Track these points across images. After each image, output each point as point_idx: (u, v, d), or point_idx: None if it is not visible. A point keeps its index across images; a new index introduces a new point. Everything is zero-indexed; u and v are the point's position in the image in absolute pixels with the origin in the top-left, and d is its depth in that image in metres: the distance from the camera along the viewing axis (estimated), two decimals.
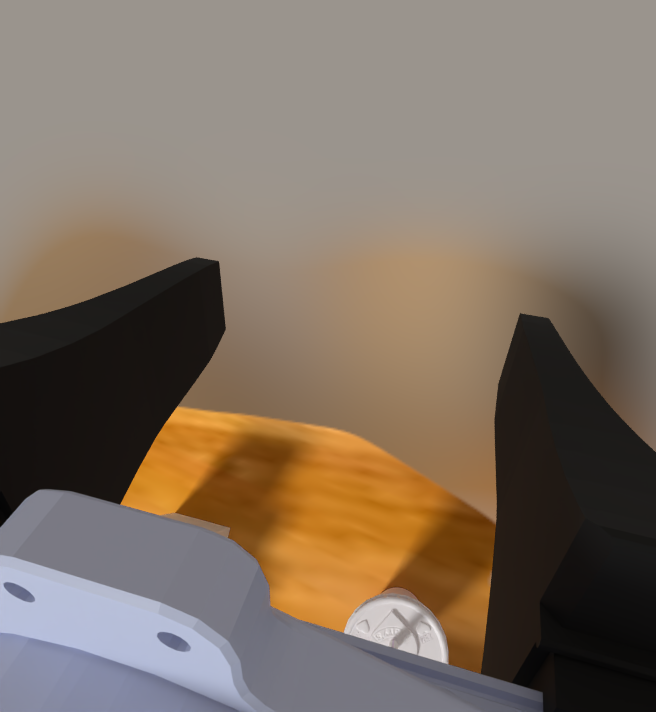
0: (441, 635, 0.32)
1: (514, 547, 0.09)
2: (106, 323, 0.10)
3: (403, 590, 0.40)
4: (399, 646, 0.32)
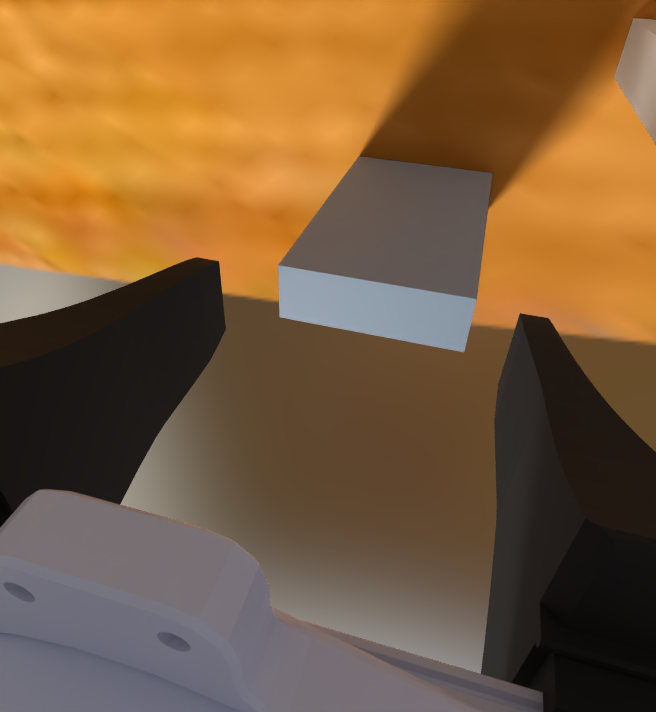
0: None
1: (514, 547, 0.09)
2: (106, 323, 0.10)
3: None
4: None
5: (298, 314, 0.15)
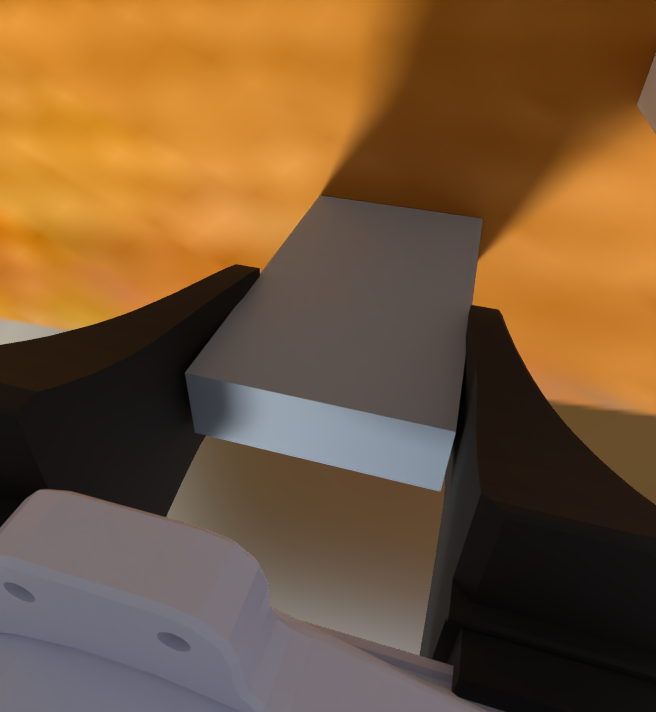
0: None
1: (448, 530, 0.09)
2: (159, 334, 0.09)
3: None
4: None
5: (218, 431, 0.11)
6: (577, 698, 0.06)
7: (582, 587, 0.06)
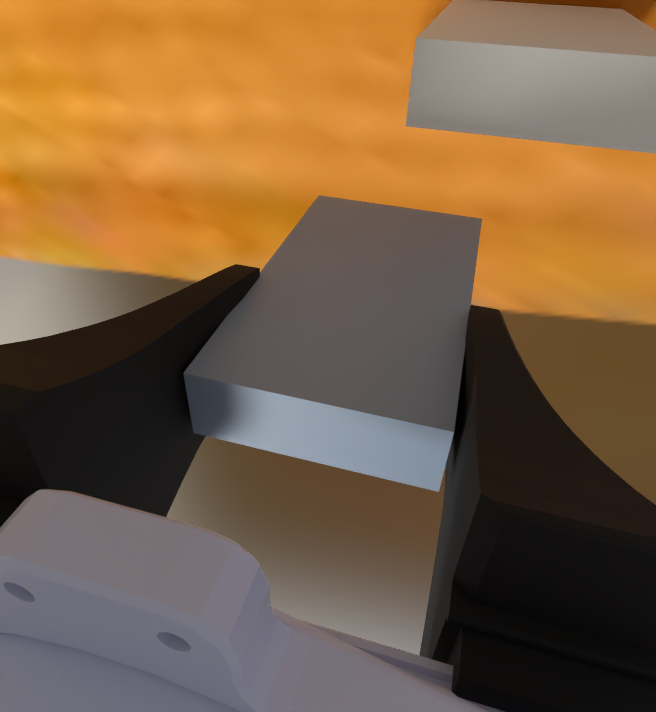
0: None
1: (448, 530, 0.09)
2: (159, 334, 0.09)
3: None
4: None
5: (216, 431, 0.11)
6: (577, 698, 0.06)
7: (583, 587, 0.06)
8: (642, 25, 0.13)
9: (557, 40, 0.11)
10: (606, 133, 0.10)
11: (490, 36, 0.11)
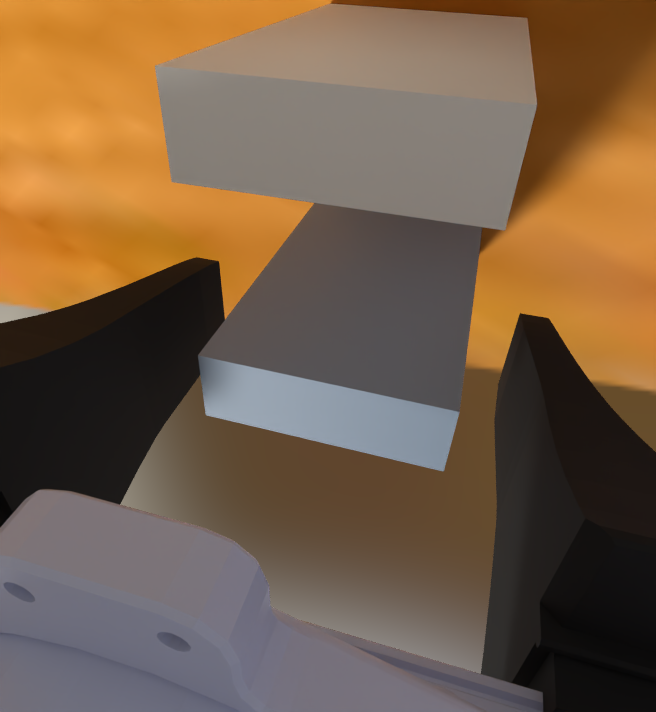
0: None
1: (514, 547, 0.09)
2: (106, 323, 0.10)
3: None
4: None
5: (229, 413, 0.11)
6: None
7: None
8: (522, 42, 0.10)
9: (363, 68, 0.08)
10: (424, 200, 0.07)
11: (273, 62, 0.08)
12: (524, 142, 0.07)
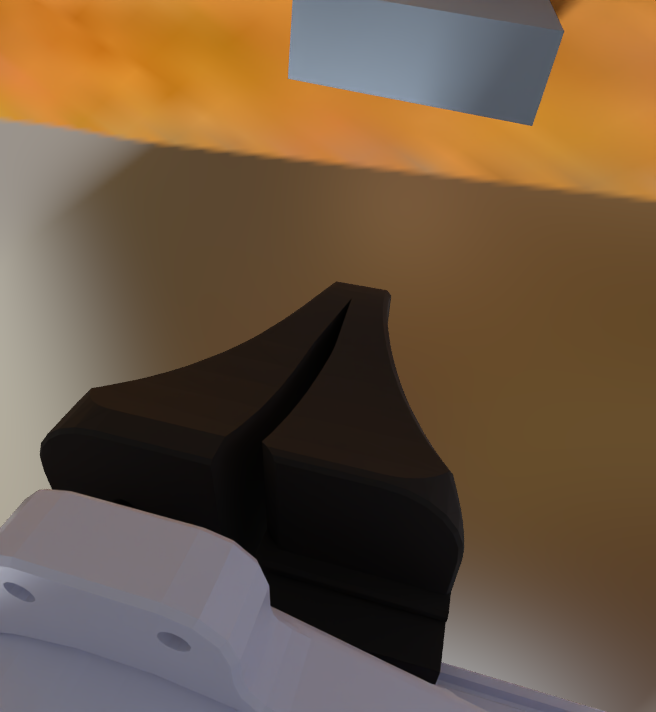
0: None
1: None
2: (296, 362, 0.09)
3: None
4: None
5: (313, 71, 0.11)
6: (359, 633, 0.06)
7: (359, 529, 0.06)
8: None
9: None
10: None
11: None
12: None
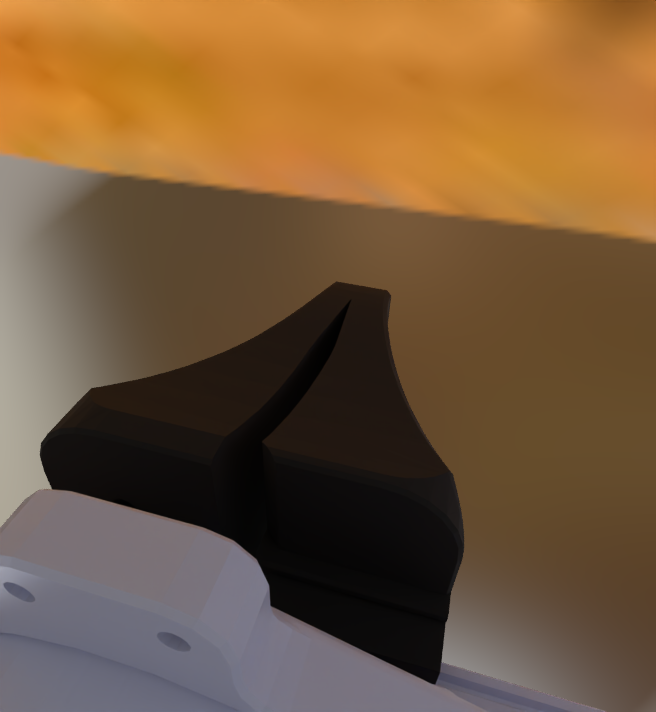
0: None
1: None
2: (295, 362, 0.09)
3: None
4: None
5: None
6: (359, 633, 0.06)
7: (359, 528, 0.06)
8: None
9: None
10: None
11: None
12: None
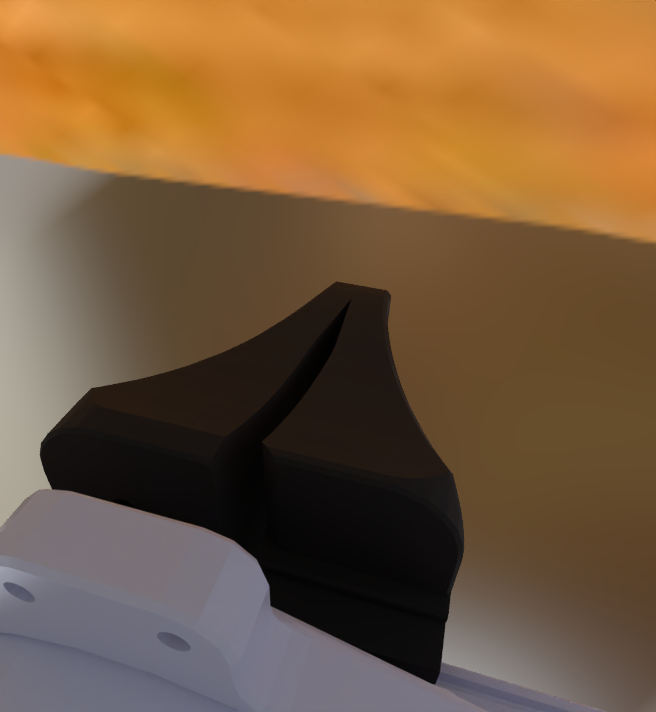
0: None
1: None
2: (295, 362, 0.09)
3: None
4: None
5: None
6: (359, 633, 0.06)
7: (359, 528, 0.06)
8: None
9: None
10: None
11: None
12: None
